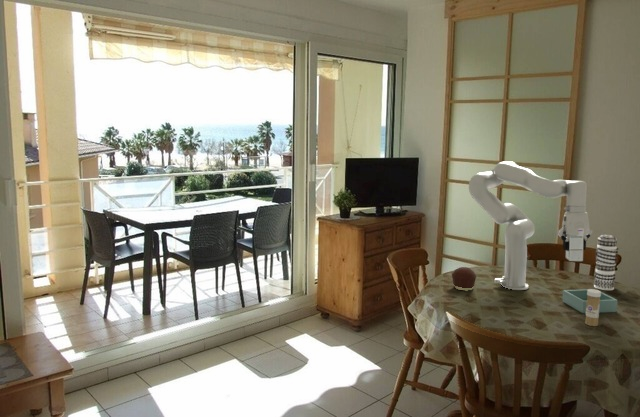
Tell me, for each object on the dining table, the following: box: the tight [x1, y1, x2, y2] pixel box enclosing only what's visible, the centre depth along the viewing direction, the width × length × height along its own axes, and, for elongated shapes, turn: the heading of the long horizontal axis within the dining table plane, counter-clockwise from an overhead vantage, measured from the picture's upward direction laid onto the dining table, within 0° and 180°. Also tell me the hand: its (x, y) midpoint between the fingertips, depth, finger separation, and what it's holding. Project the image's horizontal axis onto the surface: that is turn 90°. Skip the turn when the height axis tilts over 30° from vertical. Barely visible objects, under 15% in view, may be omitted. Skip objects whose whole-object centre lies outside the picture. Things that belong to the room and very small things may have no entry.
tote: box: [562, 288, 618, 314], centre depth 211 cm, size 15×15×5 cm
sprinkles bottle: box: [584, 288, 602, 327], centre depth 191 cm, size 5×5×13 cm
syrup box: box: [565, 228, 584, 262], centre depth 218 cm, size 6×6×14 cm
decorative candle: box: [593, 234, 619, 291], centre depth 235 cm, size 9×9×25 cm
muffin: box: [451, 266, 477, 288], centre depth 237 cm, size 12×11×10 cm
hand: (574, 249), depth 219 cm, fingers closed on syrup box, 6 cm apart
